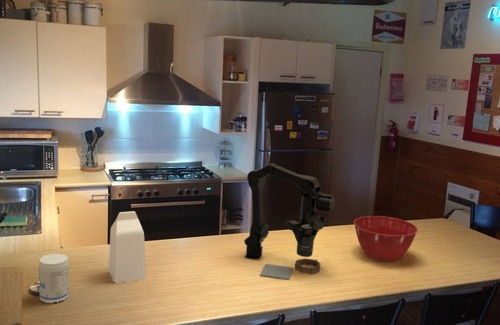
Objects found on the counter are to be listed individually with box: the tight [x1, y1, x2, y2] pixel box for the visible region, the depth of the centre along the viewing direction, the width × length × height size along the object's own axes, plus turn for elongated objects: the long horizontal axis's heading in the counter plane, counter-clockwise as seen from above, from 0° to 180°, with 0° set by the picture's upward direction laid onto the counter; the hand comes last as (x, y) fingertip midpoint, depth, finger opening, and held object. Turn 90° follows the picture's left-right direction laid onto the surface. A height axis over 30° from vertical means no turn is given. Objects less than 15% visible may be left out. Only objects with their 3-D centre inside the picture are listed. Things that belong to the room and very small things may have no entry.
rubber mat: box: [259, 263, 294, 281], centre depth 199 cm, size 12×12×1 cm
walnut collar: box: [294, 257, 322, 275], centre depth 204 cm, size 10×10×3 cm
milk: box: [108, 211, 147, 284], centre depth 186 cm, size 12×12×26 cm
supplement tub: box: [38, 253, 70, 304], centre depth 166 cm, size 10×10×15 cm
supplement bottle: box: [296, 225, 315, 258], centre depth 201 cm, size 7×7×12 cm
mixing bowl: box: [353, 215, 419, 263], centre depth 222 cm, size 28×28×15 cm
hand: (305, 243), depth 201 cm, fingers closed on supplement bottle, 7 cm apart
